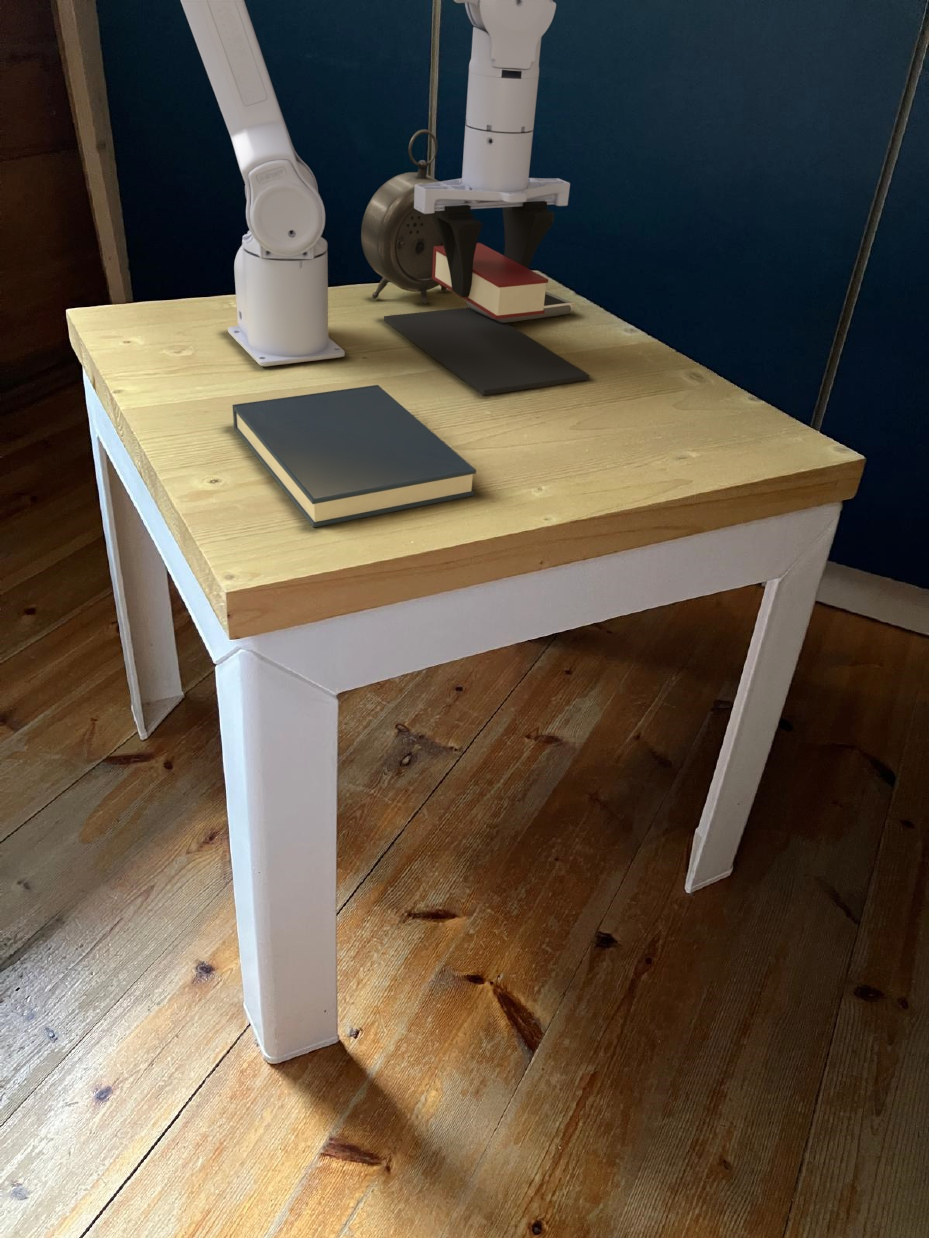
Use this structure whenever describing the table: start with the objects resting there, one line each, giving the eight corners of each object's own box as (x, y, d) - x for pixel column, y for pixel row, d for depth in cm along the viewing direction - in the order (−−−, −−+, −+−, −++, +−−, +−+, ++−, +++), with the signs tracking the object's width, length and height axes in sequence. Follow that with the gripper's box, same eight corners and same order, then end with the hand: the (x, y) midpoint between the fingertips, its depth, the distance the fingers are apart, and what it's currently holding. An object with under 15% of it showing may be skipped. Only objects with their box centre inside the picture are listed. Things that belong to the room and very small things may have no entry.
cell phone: (459, 308, 100) (461, 294, 100) (537, 298, 107) (539, 285, 106) (499, 326, 97) (501, 312, 96) (577, 315, 103) (579, 302, 102)
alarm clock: (446, 285, 108) (455, 123, 99) (472, 300, 105) (485, 133, 95) (358, 296, 103) (359, 126, 94) (382, 311, 100) (387, 136, 90)
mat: (383, 321, 97) (383, 316, 97) (479, 310, 102) (479, 306, 102) (483, 395, 83) (483, 390, 83) (588, 380, 88) (589, 374, 88)
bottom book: (233, 429, 75) (232, 404, 73) (377, 408, 80) (377, 384, 79) (313, 527, 63) (312, 500, 62) (473, 495, 69) (476, 469, 67)
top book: (431, 279, 93) (433, 246, 91) (477, 274, 95) (479, 242, 93) (496, 319, 85) (499, 284, 83) (544, 313, 87) (548, 279, 85)
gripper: (445, 138, 76) (436, 312, 84) (597, 135, 82) (575, 297, 90) (405, 122, 81) (400, 288, 89) (551, 120, 87) (535, 275, 95)
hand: (486, 291), depth 90 cm, fingers closed on top book, 5 cm apart
